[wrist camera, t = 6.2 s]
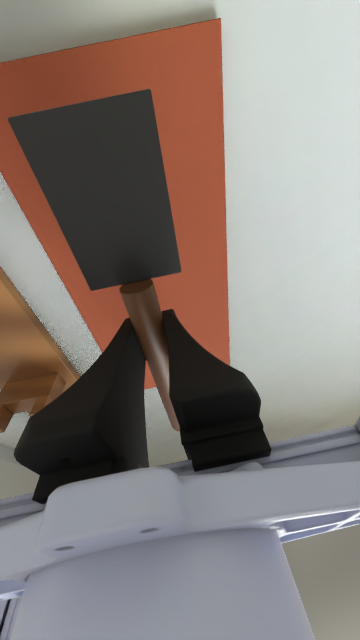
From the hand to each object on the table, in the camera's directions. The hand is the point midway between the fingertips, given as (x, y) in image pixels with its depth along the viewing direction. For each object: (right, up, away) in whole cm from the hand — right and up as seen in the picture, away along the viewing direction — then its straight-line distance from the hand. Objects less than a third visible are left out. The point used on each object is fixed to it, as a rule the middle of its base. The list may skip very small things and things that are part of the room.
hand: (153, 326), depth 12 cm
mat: (-1, +3, +4) cm, 5 cm away
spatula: (0, -1, -1) cm, 1 cm away
